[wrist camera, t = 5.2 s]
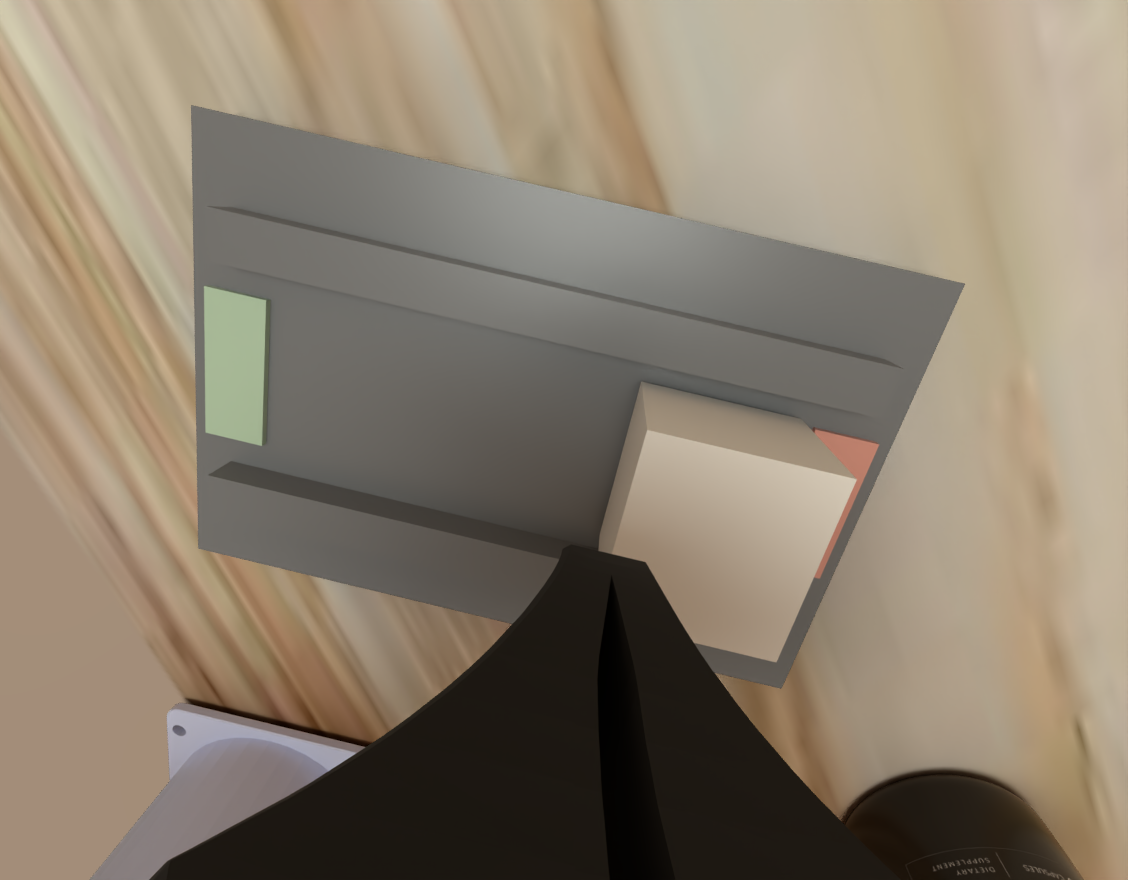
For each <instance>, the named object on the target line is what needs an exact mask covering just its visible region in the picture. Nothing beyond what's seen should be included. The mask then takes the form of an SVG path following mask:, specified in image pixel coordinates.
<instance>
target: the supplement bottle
mask: <svg viewBox="0 0 1128 880" xmlns="http://www.w3.org/2000/svg"><path fill="white" fill-rule="evenodd" d="M845 826H846V827H847V828H848V829H849V830H850V831H851V832H852V833H853V834H854V835H855V836H856V837H857V838H858V839H859V840H860V841H861V842H862V843H863V844H864V845H865V846H866V847H867V848H868V849H869V850H870V851H871V852H872V853H873V854H874V855H875V856H876V857H877V858H878V859H879V860H881V861H882V862H883V863H884V864H885V865H886V866H887V867H888V868H889V869H890V870H891V871H892V872H893V873H894V874H895V875H896V876H898V877H899V878H900V879H901V880H1084V879H1083V878H1082V876H1081V875H1080V873H1079V872H1078V870H1077V869H1076V867H1075V866H1074V865H1073V863H1072V862H1071V860H1070V859H1069V857H1068V856H1067V854H1066V853H1065V851H1064V850H1063V849H1062V847H1061V846H1060V845H1059V843H1058V842H1057V840H1056V839H1055V837H1054V836H1053V835H1052V833H1051V832H1050V830H1049V829H1048V828H1047V826H1046V825H1045V823H1044V822H1043V821H1042V819H1041V818H1040V817H1039V816H1038V815H1037V813H1036V812H1035V811H1034V810H1033V809H1032V808H1031V807H1030V806H1029V805H1028V804H1026V803H1025V802H1024V801H1023V800H1022V799H1020V798H1019V797H1017V796H1016V795H1014V794H1013V793H1011V792H1009V791H1007V790H1006V789H1004V788H1002V787H999V786H997V785H995V784H992V783H990V782H987V781H984V780H980V779H977V778H972V777H967V776H960V775H949V774H935V775H924V776H917V777H912V778H908V779H904V780H901V781H898V782H895V783H892V784H890V785H888V786H885V787H883V788H881V789H879V790H878V791H876V792H874V793H873V794H871V795H870V796H868V797H867V798H866V799H865V800H863V801H862V802H861V803H860V804H859V805H858V806H857V807H856V808H855V809H854V811H853V812H852V813H851V815H850V816H849V818H848V819H847V821H846V824H845Z"/></svg>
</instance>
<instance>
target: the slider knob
mask: <svg viewBox="0 0 1128 880" xmlns="http://www.w3.org/2000/svg"><path fill="white" fill-rule="evenodd" d="M856 481H857V479H856V478H855V477H854V476H853V474H852V473H851V472H850V471H849V470H848V469H847V468H846V467H845V466H844V465H843V464H842V463H841V461H840V460H839V459H838V458H837V457H836V456H835V455H834V454H833V453H832V452H831V451H830V449H829V448H828V447H827V446H826V445H825V444H824V443H823V442H822V441H821V440H820V439H819V438H818V436H817V435H816V434H815V433H814V432H813V431H812V430H811V429H810V428H809V427H808V426H807V425H806V423H805V422H804V421H803V420H802V419H799V418H795V417H791V416H786V415H782V414H778V413H774V412H769V411H765V410H761V409H756V408H752V407H748V406H744V405H739V404H735V403H731V402H727V401H722V400H718V399H714V398H710V397H705V396H701V395H697V394H693V393H688V392H684V391H680V390H676V389H671V388H667V387H663V386H658V385H654V384H650V383H646V382H641V384H640V388H639V392H638V395H637V399H636V403H635V406H634V410H633V414H632V417H631V421H630V425H629V428H628V432H627V436H626V439H625V443H624V447H623V450H622V454H621V458H620V461H619V465H618V469H617V472H616V476H615V480H614V483H613V487H612V491H611V494H610V498H609V502H608V505H607V509H606V513H605V516H604V520H603V524H602V527H601V531H600V535H599V548H598V551H601V552H605V553H610V554H614V555H618V556H622V557H627V558H631V559H635V560H639V561H643V562H646V564H647V565H648V567H649V569H650V570H651V572H652V574H653V575H654V577H655V579H656V581H657V582H658V584H659V586H660V587H661V589H662V591H663V593H664V594H665V596H666V598H667V600H668V601H669V603H670V605H671V606H672V608H673V610H674V612H675V613H676V615H677V617H678V618H679V620H680V622H681V623H682V625H683V627H684V628H685V630H686V631H687V633H688V634H689V636H690V638H691V639H692V641H693V642H694V643H697V644H701V645H705V646H709V647H714V648H718V649H722V650H726V651H730V652H734V653H739V654H743V655H747V656H751V657H755V658H759V659H764V660H768V661H772V662H777V660H778V658H779V655H780V653H781V651H782V649H783V646H784V644H785V642H786V640H787V637H788V635H789V633H790V631H791V628H792V626H793V624H794V621H795V619H796V617H797V615H798V612H799V610H800V608H801V606H802V603H803V601H804V599H805V596H806V594H807V592H808V590H809V587H810V585H811V583H812V581H813V578H814V576H815V574H816V572H817V569H818V567H819V565H820V562H821V560H822V558H823V556H824V553H825V551H826V549H827V547H828V544H829V542H830V540H831V537H832V535H833V533H834V531H835V528H836V526H837V524H838V522H839V519H840V517H841V515H842V513H843V510H844V508H845V506H846V503H847V501H848V499H849V497H850V494H851V492H852V490H853V488H854V485H855V483H856Z"/></svg>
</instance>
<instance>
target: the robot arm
mask: <svg viewBox="0 0 1128 880" xmlns="http://www.w3.org/2000/svg"><path fill="white" fill-rule="evenodd" d="M167 731H168V732H167V733H168V754H169V777H170V781H169V783H168V784H167V785H166V787H165V788H164V789H163V790H162V791H161V792H160V794H159V795H158V796H157V797H156V799H155V800H154V801H153V802H152V803H151V805H150V806H149V807H148V808H147V810H146V811H145V812H144V813H143V815H142V816H141V817H140V818H139V819H138V821H137V822H136V823H135V824H134V826H133V827H132V828H131V829H130V830H129V832H128V833H127V834H126V835H125V837H124V838H123V839H122V840H121V842H120V843H119V844H118V845H117V846H116V848H115V849H114V850H113V851H112V853H111V854H110V855H109V857H108V858H107V859H106V860H105V861H104V863H103V864H102V865H101V866H100V867H99V869H98V870H97V871H96V872H95V874H94V875H93V876H92V877H91V878H90V880H901V879H900V878H899V877H898V876H896V875H895V874H894V873H893V872H892V871H891V870H890V869H889V868H888V867H887V866H886V865H885V864H884V863H883V862H882V861H881V860H879V859H878V858H877V857H876V856H875V855H874V854H873V853H872V852H871V851H870V850H869V849H868V848H867V847H866V846H865V845H864V844H863V843H862V842H861V841H860V840H859V839H858V838H857V837H856V836H855V835H854V834H853V833H852V832H851V831H850V830H849V829H848V828H847V827H846V826H845V825H844V824H843V823H842V822H841V821H840V820H839V819H838V818H837V817H836V816H835V815H834V814H833V813H832V812H831V811H830V810H829V809H828V808H827V807H826V806H825V805H824V804H823V803H822V802H821V801H820V800H819V798H818V797H817V796H816V795H815V794H814V793H813V792H812V791H811V790H810V789H809V788H808V787H807V786H806V784H805V783H804V782H803V781H802V780H801V779H800V778H799V777H798V776H797V775H796V774H795V773H794V771H793V770H792V769H791V768H790V767H789V766H788V765H787V763H786V762H785V761H784V760H783V759H782V758H781V756H780V755H779V754H778V753H777V752H776V751H775V749H774V748H773V747H772V746H771V745H770V744H769V742H768V741H767V740H766V739H765V738H764V737H763V735H762V734H761V733H760V732H759V731H758V730H757V728H756V727H755V726H754V725H753V723H752V722H751V721H750V720H749V718H748V717H747V716H746V715H745V713H744V712H743V711H742V710H741V708H740V707H739V706H738V705H737V703H736V702H735V700H734V699H733V698H732V696H731V695H730V694H729V692H728V691H727V690H726V688H725V687H724V686H723V684H722V683H721V681H720V680H719V679H718V677H717V676H716V675H715V673H714V672H713V671H712V669H711V668H710V666H709V665H708V663H707V662H706V660H705V659H704V657H703V656H702V655H701V653H700V652H699V650H698V648H697V647H696V645H695V644H694V642H693V641H692V639H691V638H690V636H689V634H688V633H687V631H686V630H685V628H684V627H683V625H682V623H681V622H680V620H679V618H678V617H677V615H676V613H675V612H674V610H673V608H672V606H671V605H670V603H669V601H668V600H667V598H666V596H665V594H664V593H663V591H662V589H661V587H660V586H659V584H658V582H657V581H656V579H655V577H654V575H653V574H652V572H651V570H650V569H649V567H648V565H647V564H646V562H643V561H639V560H635V559H631V558H627V557H622V556H618V555H614V554H610V553H605V552H601V551H597V550H593V549H589V548H584V547H580V546H576V545H572V544H571V545H569V546H567V547H565V548H563V549H562V553H561V556H560V559H559V561H558V563H557V565H556V567H555V569H554V570H553V572H552V574H551V575H550V577H549V578H548V580H547V581H546V583H545V584H544V586H543V587H542V588H541V590H540V591H539V592H538V594H537V595H536V596H535V598H534V599H533V600H532V602H531V603H530V604H529V605H528V607H527V608H526V609H525V611H524V612H523V613H522V614H521V615H520V616H519V618H518V619H517V620H516V621H515V622H514V623H513V624H512V625H511V626H510V627H509V628H508V630H507V631H506V632H505V633H504V634H503V635H502V636H501V637H500V638H499V639H498V640H497V641H496V643H495V644H494V645H493V646H492V647H491V648H490V649H489V650H488V651H487V652H486V653H485V654H484V655H483V656H481V657H480V658H479V659H478V660H477V661H476V662H475V663H474V664H473V665H472V666H471V667H470V668H469V669H468V670H466V671H465V672H464V673H463V674H462V675H461V676H460V677H458V678H457V679H456V680H455V681H454V682H453V683H452V684H450V685H449V686H448V687H447V688H446V689H444V690H443V691H442V692H441V693H439V694H438V695H437V696H435V697H434V698H433V699H432V700H430V701H429V702H428V703H427V704H425V705H424V706H423V707H421V708H420V709H419V710H418V711H416V712H415V713H414V714H413V715H411V716H410V717H409V718H407V719H406V720H405V721H403V722H402V723H400V724H399V725H398V726H396V727H395V728H394V729H392V730H391V731H389V732H388V733H386V734H385V735H384V736H382V737H381V738H379V739H378V740H376V741H374V742H373V743H371V744H370V745H368V746H367V747H363V746H359V745H355V744H351V743H347V742H343V741H339V740H335V739H330V738H326V737H322V736H318V735H314V734H310V733H306V732H302V731H298V730H294V729H289V728H285V727H281V726H277V725H273V724H269V723H265V722H261V721H257V720H253V719H248V718H244V717H240V716H236V715H232V714H228V713H224V712H220V711H216V710H212V709H208V708H203V707H199V706H195V705H191V704H187V703H178V704H176V705H175V706H174V707H173V708H172V709H171V710H170V711H169V712H168V714H167Z"/></svg>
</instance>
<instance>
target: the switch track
mask: <svg viewBox="0 0 1128 880" xmlns="http://www.w3.org/2000/svg"><path fill="white" fill-rule="evenodd" d="M191 123H192V185H193V246H194V308H195V370H196V431H197V493H198V548H199V549H203V550H207V551H211V552H215V553H219V554H224V555H228V556H232V557H236V558H240V559H244V560H248V561H253V562H257V563H261V564H265V565H269V566H273V567H278V568H282V569H286V570H290V571H294V572H298V573H302V574H307V575H311V576H315V577H319V578H323V579H327V580H332V581H336V582H340V583H344V584H348V585H352V586H357V587H361V588H365V589H369V590H373V591H377V592H381V593H386V594H390V595H394V596H398V597H402V598H406V599H411V600H415V601H419V602H423V603H427V604H431V605H435V606H440V607H444V608H448V609H452V610H456V611H460V612H465V613H469V614H473V615H477V616H481V617H485V618H490V619H494V620H498V621H502V622H506V623H510V624H513V623H514V622H515V621H516V620H517V619H518V618H519V616H520V615H521V614H522V613H523V612H524V611H525V609H526V608H527V607H528V605H529V604H530V603H531V602H532V600H533V599H534V598H535V596H536V595H537V594H538V592H539V591H540V590H541V588H542V587H543V586H544V584H545V583H546V581H547V580H548V578H549V577H550V575H551V574H552V572H553V570H554V569H555V567H556V565H557V563H558V561H559V559H560V556H561V553H562V549H563V548H565V547H567V546H569V545H571V544H572V545H576V546H580V547H584V548H589V549H593V550H597V551H598V548H599V535H600V531H601V527H602V524H603V520H604V516H605V513H606V509H607V505H608V502H609V498H610V494H611V491H612V487H613V483H614V480H615V476H616V472H617V469H618V465H619V461H620V458H621V454H622V450H623V447H624V443H625V439H626V436H627V432H628V428H629V425H630V421H631V417H632V414H633V410H634V406H635V403H636V399H637V395H638V392H639V388H640V384H641V382H646V383H650V384H654V385H658V386H663V387H667V388H671V389H676V390H680V391H684V392H688V393H693V394H697V395H701V396H705V397H710V398H714V399H718V400H722V401H727V402H731V403H735V404H739V405H744V406H748V407H752V408H756V409H761V410H765V411H769V412H774V413H778V414H782V415H786V416H791V417H795V418H799V419H802V420H803V421H804V422H805V423H806V425H807V426H808V427H809V428H810V429H811V430H812V431H813V432H814V433H815V434H816V435H817V436H818V438H819V439H820V440H821V441H822V442H823V443H824V444H825V445H826V446H827V447H828V448H829V449H830V451H831V452H832V453H833V454H834V455H835V456H836V457H837V458H838V459H839V460H840V461H841V463H842V464H843V465H844V466H845V467H846V468H847V469H848V470H849V471H850V472H851V473H852V474H853V476H854V477H855V478H856V479H857V481H856V483H855V485H854V488H853V490H852V492H851V494H850V497H849V499H848V501H847V503H846V506H845V508H844V510H843V513H842V515H841V517H840V519H839V522H838V524H837V526H836V528H835V531H834V533H833V535H832V537H831V540H830V542H829V544H828V547H827V549H826V551H825V553H824V556H823V558H822V560H821V562H820V565H819V567H818V569H817V572H816V574H815V576H814V578H813V581H812V583H811V585H810V587H809V590H808V592H807V594H806V596H805V599H804V601H803V603H802V606H801V608H800V610H799V612H798V615H797V617H796V619H795V621H794V624H793V626H792V628H791V631H790V633H789V635H788V637H787V640H786V642H785V644H784V646H783V649H782V651H781V653H780V655H779V658H778V660H777V662H772V661H768V660H764V659H759V658H755V657H751V656H747V655H743V654H739V653H734V652H730V651H726V650H722V649H718V648H714V647H709V646H705V645H701V644H697V643H694V644H695V645H696V647H697V648H698V650H699V652H700V653H701V655H702V656H703V657H704V659H705V660H706V662H707V663H708V665H709V666H710V668H711V669H712V671H713V672H714V673H718V674H722V675H726V676H731V677H735V678H739V679H743V680H747V681H751V682H756V683H760V684H764V685H768V686H772V687H776V688H780V689H781V688H782V686H783V684H784V682H785V680H786V677H787V675H788V673H789V671H790V669H791V666H792V664H793V662H794V660H795V658H796V655H797V653H798V651H799V649H800V647H801V644H802V642H803V640H804V638H805V636H806V633H807V631H808V629H809V627H810V625H811V622H812V620H813V618H814V616H815V614H816V611H817V609H818V607H819V605H820V603H821V600H822V598H823V596H824V594H825V591H826V589H827V587H828V585H829V583H830V580H831V578H832V576H833V574H834V572H835V569H836V567H837V565H838V563H839V561H840V558H841V556H842V554H843V552H844V550H845V547H846V545H847V543H848V541H849V539H850V536H851V534H852V532H853V530H854V528H855V525H856V523H857V521H858V519H859V517H860V514H861V512H862V510H863V508H864V506H865V503H866V501H867V499H868V497H869V495H870V492H871V490H872V488H873V486H874V484H875V481H876V479H877V477H878V475H879V473H880V470H881V468H882V466H883V464H884V462H885V459H886V457H887V455H888V453H889V451H890V448H891V446H892V444H893V442H894V440H895V437H896V435H897V433H898V431H899V428H900V426H901V424H902V422H903V420H904V417H905V415H906V413H907V411H908V409H909V406H910V404H911V402H912V400H913V398H914V395H915V393H916V391H917V389H918V387H919V384H920V382H921V380H922V378H923V376H924V373H925V371H926V369H927V367H928V365H929V362H930V360H931V358H932V356H933V354H934V351H935V349H936V347H937V345H938V343H939V340H940V338H941V336H942V334H943V332H944V329H945V327H946V325H947V323H948V321H949V318H950V316H951V314H952V312H953V310H954V307H955V305H956V303H957V301H958V299H959V296H960V294H961V292H962V290H963V288H964V285H965V284H964V283H959V282H955V281H951V280H946V279H942V278H938V277H933V276H929V275H925V274H920V273H916V272H912V271H907V270H903V269H899V268H894V267H890V266H886V265H881V264H877V263H873V262H868V261H864V260H860V259H855V258H851V257H847V256H842V255H838V254H834V253H829V252H825V251H821V250H816V249H812V248H808V247H803V246H799V245H795V244H790V243H786V242H782V241H777V240H773V239H769V238H764V237H760V236H756V235H751V234H747V233H743V232H738V231H734V230H730V229H725V228H721V227H717V226H712V225H708V224H704V223H699V222H695V221H691V220H686V219H682V218H678V217H674V216H669V215H665V214H661V213H656V212H652V211H648V210H643V209H639V208H635V207H630V206H626V205H622V204H617V203H613V202H609V201H604V200H600V199H596V198H591V197H587V196H583V195H578V194H574V193H570V192H565V191H561V190H557V189H552V188H548V187H544V186H539V185H535V184H531V183H526V182H522V181H518V180H513V179H509V178H505V177H500V176H496V175H492V174H487V173H483V172H479V171H474V170H470V169H466V168H461V167H457V166H453V165H448V164H444V163H440V162H435V161H431V160H427V159H422V158H418V157H414V156H409V155H405V154H401V153H396V152H392V151H388V150H383V149H379V148H375V147H370V146H366V145H362V144H357V143H353V142H349V141H344V140H340V139H336V138H331V137H327V136H323V135H318V134H314V133H310V132H305V131H301V130H297V129H292V128H288V127H284V126H279V125H275V124H271V123H266V122H262V121H258V120H253V119H249V118H245V117H240V116H236V115H232V114H228V113H223V112H219V111H215V110H210V109H206V108H202V107H197V106H193V105H191Z"/></svg>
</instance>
